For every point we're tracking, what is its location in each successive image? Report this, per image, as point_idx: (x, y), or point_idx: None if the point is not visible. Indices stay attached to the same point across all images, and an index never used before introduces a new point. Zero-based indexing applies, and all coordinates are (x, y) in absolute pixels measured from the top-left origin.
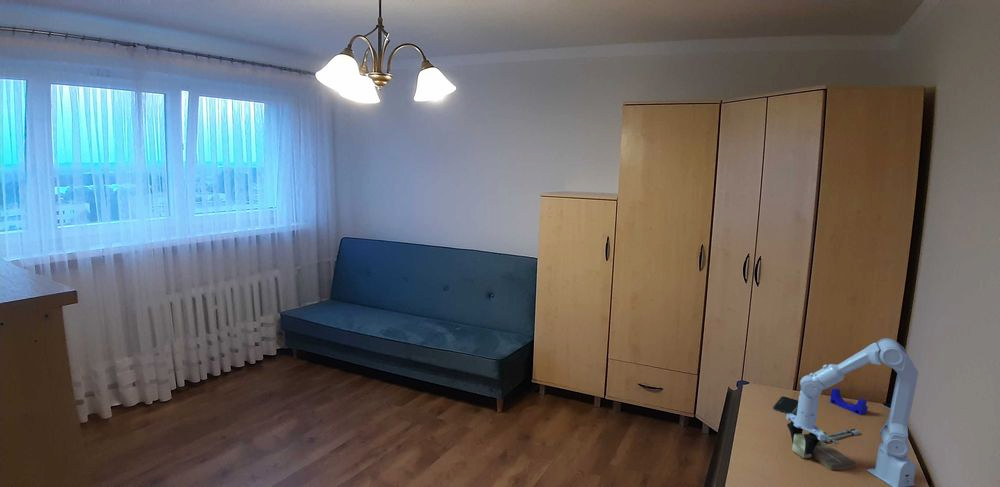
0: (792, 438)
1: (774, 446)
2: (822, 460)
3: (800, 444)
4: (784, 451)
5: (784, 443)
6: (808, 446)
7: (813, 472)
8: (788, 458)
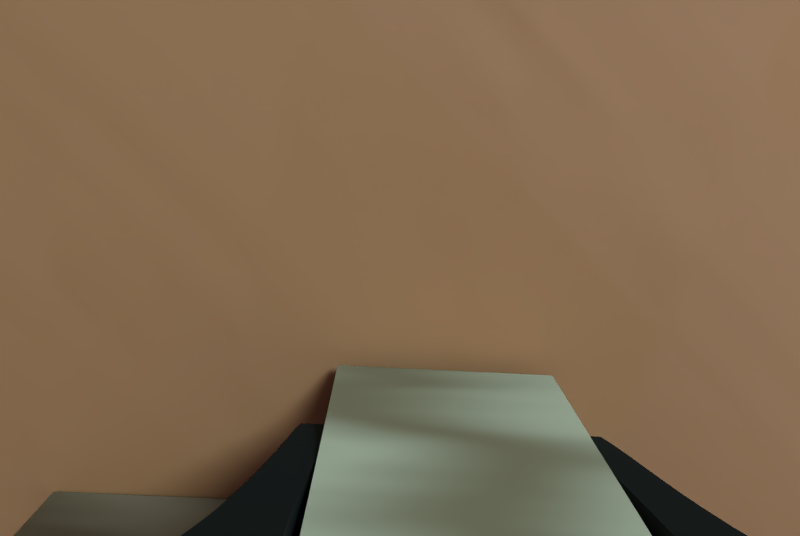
0: (650, 488)
1: (735, 224)
2: (177, 534)
3: (432, 471)
4: (580, 263)
5: (735, 426)
6: (219, 510)
7: (31, 233)
8: (412, 168)
